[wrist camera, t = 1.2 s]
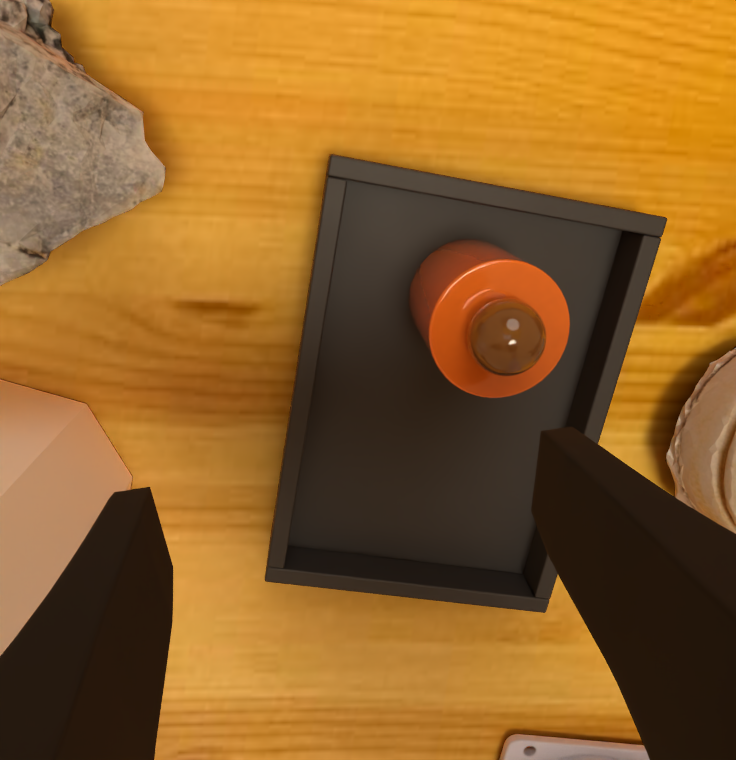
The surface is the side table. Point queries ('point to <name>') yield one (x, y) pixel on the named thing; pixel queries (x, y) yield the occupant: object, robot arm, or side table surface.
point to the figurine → (708, 445)
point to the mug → (47, 494)
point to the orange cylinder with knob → (488, 318)
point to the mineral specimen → (60, 144)
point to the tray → (439, 390)
